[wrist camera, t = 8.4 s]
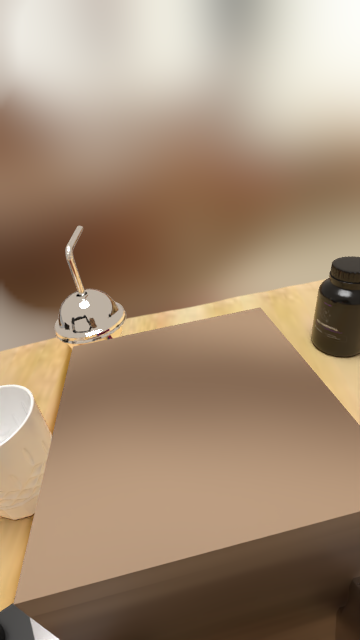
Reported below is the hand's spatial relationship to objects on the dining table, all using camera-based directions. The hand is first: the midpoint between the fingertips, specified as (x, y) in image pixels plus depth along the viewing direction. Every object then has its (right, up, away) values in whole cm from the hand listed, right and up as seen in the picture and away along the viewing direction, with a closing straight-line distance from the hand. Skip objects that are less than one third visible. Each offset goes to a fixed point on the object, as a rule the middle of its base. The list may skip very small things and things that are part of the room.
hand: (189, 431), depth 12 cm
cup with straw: (-10, -4, +30) cm, 32 cm away
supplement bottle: (+22, +1, +30) cm, 37 cm away
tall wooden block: (+1, -7, +2) cm, 7 cm away
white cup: (-15, -12, +19) cm, 27 cm away
